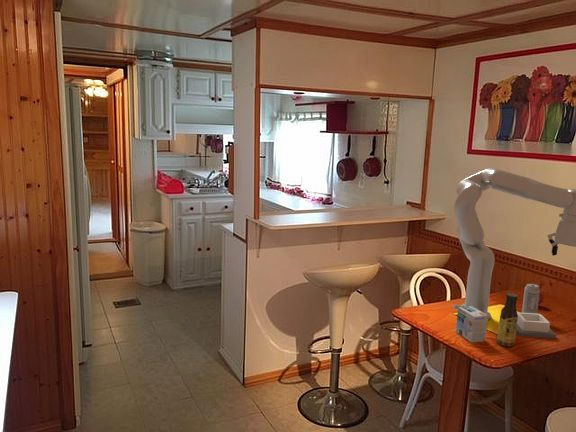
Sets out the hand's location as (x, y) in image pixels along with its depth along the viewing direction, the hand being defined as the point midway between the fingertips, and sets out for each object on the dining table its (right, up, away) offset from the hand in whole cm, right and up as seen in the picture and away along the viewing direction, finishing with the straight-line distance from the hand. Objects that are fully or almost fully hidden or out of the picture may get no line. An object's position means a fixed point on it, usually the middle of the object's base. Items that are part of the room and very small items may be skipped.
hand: (566, 257), depth 214 cm
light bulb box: (-46, -30, -14) cm, 57 cm away
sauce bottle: (-35, -32, -21) cm, 51 cm away
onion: (-2, -25, +23) cm, 34 cm away
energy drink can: (-13, -27, +7) cm, 31 cm away
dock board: (-18, -29, -6) cm, 35 cm away
